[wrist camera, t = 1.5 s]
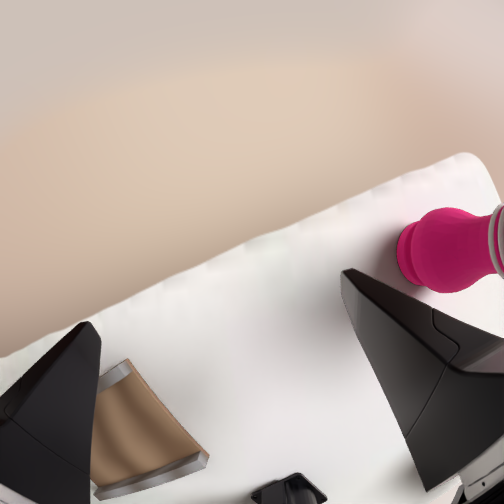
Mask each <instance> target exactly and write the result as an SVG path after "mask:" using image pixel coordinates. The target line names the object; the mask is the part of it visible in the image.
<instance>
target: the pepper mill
mask: <svg viewBox="0 0 504 504" xmlns="http://www.w3.org/2000/svg"><path fill="white" fill-rule="evenodd" d="M397 261H398V265H399V267H400V270H401V272H402V273H403V275H404V276H405V277H406V279H407V280H409V281H410V282H412V283H413V284H416V285H420V286H427V287H428V288H429V289H431V290H433V291H436V292H439V293H453V292H458V291H461V290H463V289H466V288H468V287H470V286H471V285H473V284H474V283H475V282H476V281H478V280H479V279H481V278H482V277H484V276H486V275H488V274H495V273H498V274H499V275H500V276H501V277H502V278H503V279H504V203H501V204H500V205H498V206H497V207H496V209H495V210H494V212H493V214H491V215H488V216H482V217H478V216H474V215H472V214H470V213H468V212H466V211H464V210H461V209H456V208H448V207H445V208H440V209H435V210H433V211H430V212H428V213H427V214H426V215H425V216H423V217H422V218H421V220H420V221H417V222H414V223H412V224H410V225H408V226H407V227H406V228H405V229H404V231H403V232H402V233H401V235H400V237H399V240H398V244H397Z"/></svg>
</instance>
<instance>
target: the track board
mask: <svg viewBox="0 0 504 504" xmlns="http://www.w3.org/2000/svg"><path fill="white" fill-rule="evenodd" d="M208 458H209V454H208V453H207V452H206V451H205V450H204V449H203V448H202V447H201V446H200V445H199V444H198V443H197V442H196V441H195V440H194V439H193V438H192V437H191V436H190V434H189V433H188V432H187V431H186V430H185V429H184V428H183V427H182V426H181V425H180V423H179V422H178V421H177V420H176V419H175V418H174V417H173V415H172V414H171V413H170V412H169V411H168V410H167V408H166V407H165V406H164V405H163V404H162V402H161V401H160V400H159V399H158V397H157V396H156V395H155V394H154V392H153V391H152V390H151V389H150V387H149V386H148V385H147V384H146V382H145V381H144V380H143V378H142V377H141V376H140V374H139V373H138V372H137V370H136V369H135V367H134V366H133V365H132V363H131V362H130V360H129V359H126V360H125V361H123V362H122V363H120V364H119V365H117V366H116V367H114V368H113V369H111V370H110V371H109V372H107V373H106V374H104V375H103V376H101V377H100V378H99V381H98V388H97V395H96V403H95V412H94V421H93V432H92V445H91V465H90V479H91V480H92V481H93V482H94V483H95V484H96V485H97V486H98V487H99V488H98V489H97V490H96V492H95V493H94V494H93V495H94V496H95V497H96V498H97V499H98V500H99V501H101V500H106V499H111V498H115V497H119V496H123V495H127V494H131V493H134V492H138V491H142V490H145V489H148V488H152V487H155V486H158V485H161V484H164V483H167V482H170V481H173V480H175V479H178V478H181V477H184V476H186V475H189V474H192V473H194V472H197V471H199V470H202V469H204V468H206V464H207V461H208Z"/></svg>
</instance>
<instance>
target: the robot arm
mask: <svg viewBox="0 0 504 504" xmlns="http://www.w3.org/2000/svg"><path fill="white" fill-rule="evenodd" d="M341 295H342V298H343V301H344V304H345V306H346V309H347V312H348V314H349V317H350V320H351V323H352V325H353V328H354V331H355V333H356V336H357V338H358V340H359V342H360V344H361V346H362V348H363V350H364V352H365V354H366V356H367V358H368V360H369V362H370V364H371V366H372V368H373V370H374V372H375V374H376V377H377V379H378V381H379V383H380V385H381V387H382V389H383V391H384V394H385V396H386V398H387V400H388V402H389V404H390V407H391V409H392V411H393V413H394V416H395V418H396V420H397V422H398V425H399V427H400V429H401V431H402V434H403V436H404V438H405V441H406V444H407V446H408V448H409V451H410V453H411V456H412V458H413V460H414V463H415V465H416V468H417V470H418V473H419V475H420V478H421V481H422V483H423V486H424V488H425V491H426V492H428V491H430V490H432V489H434V488H436V487H438V486H440V485H442V484H444V483H445V482H447V481H449V480H451V479H452V478H454V477H456V476H457V475H459V476H460V479H461V481H462V483H463V484H462V485H461V486H459V488H458V490H457V492H456V495H455V497H454V499H453V501H452V503H451V504H504V338H501V337H498V336H496V335H493V334H491V333H488V332H486V331H483V330H481V329H479V328H476V327H474V326H471V325H469V324H466V323H464V322H462V321H459V320H457V319H455V318H453V317H451V316H449V315H447V314H445V313H443V312H441V311H439V310H437V309H435V308H433V309H432V307H431V306H429V305H427V304H425V303H423V302H421V301H419V300H417V299H415V298H413V297H411V296H409V295H407V294H405V293H403V292H401V291H399V290H397V289H395V288H393V287H391V286H389V285H387V284H385V283H383V282H381V281H379V280H377V279H375V278H372V277H370V276H368V275H366V274H364V273H362V272H360V271H358V270H356V269H354V268H351V269H347V270H343V271H342V272H341ZM100 355H101V338H100V336H99V334H98V333H97V331H96V330H95V328H94V327H93V325H92V324H91V323H90V322H89V321H86V322H80V323H79V324H78V325H76V326H75V327H74V328H73V329H72V330H71V331H70V332H69V333H67V334H66V335H65V336H64V337H63V338H62V339H61V340H60V341H59V342H58V343H56V344H55V345H54V346H53V347H52V348H51V349H50V350H49V351H48V352H47V353H46V354H45V355H43V356H42V357H41V358H40V359H39V360H38V361H37V362H36V363H35V364H34V365H33V366H32V367H31V368H30V369H29V370H28V371H27V372H26V373H25V374H24V375H23V376H22V377H20V378H19V379H18V380H17V381H16V382H15V383H14V384H13V385H12V386H11V387H10V388H9V389H8V390H7V391H6V392H5V393H4V394H3V395H2V396H1V397H0V504H90V465H91V445H92V432H93V421H94V412H95V403H96V395H97V388H98V381H99V370H100ZM254 496H257V497H254ZM251 499H252V500H254V501H255V502H256V503H257V504H322V503H324V502H326V501H327V496H326V495H325V494H324V493H322V492H321V491H320V490H319V489H318V488H317V487H316V486H315V485H313V484H312V483H311V482H310V481H309V480H308V479H307V478H306V477H305V476H304V475H303V474H301V473H296V474H294V475H292V476H290V477H288V478H286V479H284V480H282V481H280V482H277V483H275V484H273V485H271V486H269V487H266V488H264V489H262V490H259V491H257V492H255V493H252V494H251Z"/></svg>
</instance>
